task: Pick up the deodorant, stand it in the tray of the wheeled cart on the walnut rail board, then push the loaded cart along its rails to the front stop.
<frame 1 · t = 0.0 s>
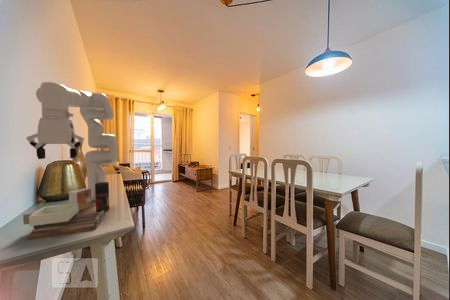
hand: (57, 158, 67), 31 cm above the table, tool pointing down, fingers open, 9 cm apart
small box: (81, 208, 94), on the table
rail board: (71, 225, 75), on the table
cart: (51, 216, 72), point 5 cm above the table, slide at 0.0 cm
deodorant: (102, 210, 92), on the table
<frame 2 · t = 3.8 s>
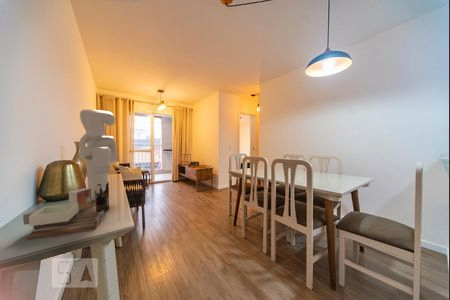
hand: (102, 202, 91), 5 cm above the table, tool pointing down, fingers closed on deodorant, 5 cm apart
deodorant: (102, 210, 92), on the table, touching gripper
everything else where it was.
when the fingers open (11 cm above the table, at t = 10.2 s): deodorant drops 1 cm, resting on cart.
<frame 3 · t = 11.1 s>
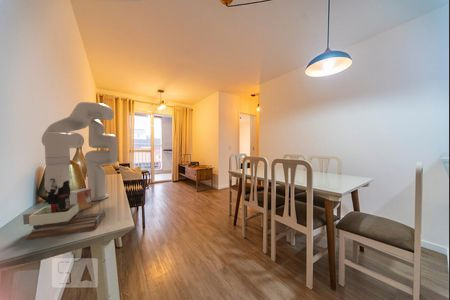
hand: (60, 199, 73), 12 cm above the table, tool pointing down, fingers open, 9 cm apart
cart: (51, 216, 72), point 5 cm above the table, slide at 0.0 cm, touching deodorant
deodorant: (61, 215, 73), point 5 cm above the table, touching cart
everything else where it was.
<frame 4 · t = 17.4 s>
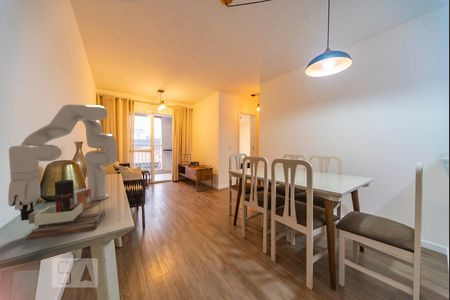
hand: (27, 219, 69), 6 cm above the table, tool pointing down, fingers closed
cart: (56, 215, 73), point 5 cm above the table, slide at 1.6 cm, touching deodorant, gripper
deodorant: (65, 215, 74), point 5 cm above the table, touching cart
everything else where it was.
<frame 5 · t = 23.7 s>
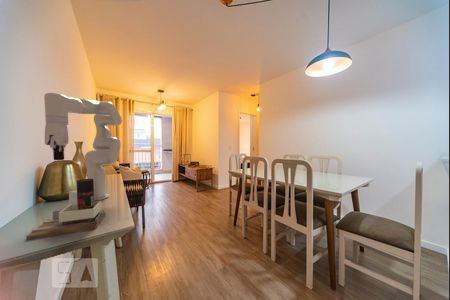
hand: (59, 159, 79), 29 cm above the table, tool pointing down, fingers closed
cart: (77, 213, 75), point 5 cm above the table, slide at 9.0 cm, touching deodorant
deodorant: (86, 212, 77), point 5 cm above the table, touching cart
everything else where it was.
at the end: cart slide at 9.0 cm; deodorant inside the target area (0.2 cm from its centre), point 5.2 cm above the table; deodorant tilted 0° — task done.
